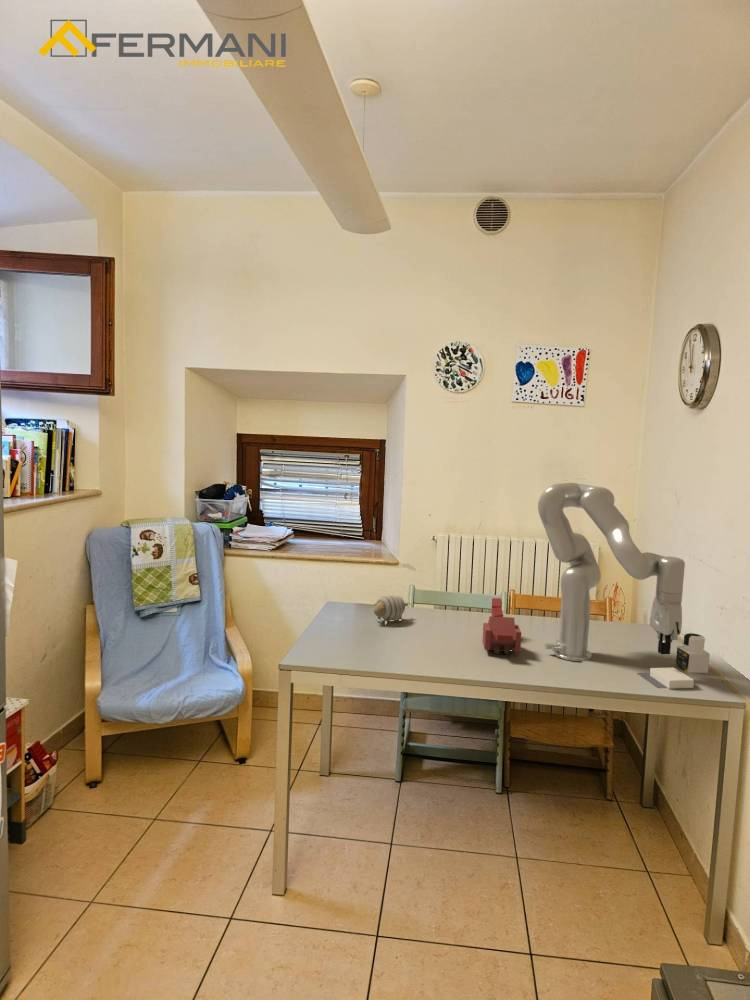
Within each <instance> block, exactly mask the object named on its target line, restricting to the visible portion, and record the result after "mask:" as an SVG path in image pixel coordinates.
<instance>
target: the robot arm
mask: <svg viewBox="0 0 750 1000" xmlns="http://www.w3.org/2000/svg"><path fill="white" fill-rule="evenodd" d="M569 507H571V508H572V507H573V508H579V509H583V511H585V514H587V516H588V517H589V518H590V519H591V520H592V521H593V523H594V524H595V525H596V526H597V528H598V529H599V530H600V532H601V533H602V534H603V535H604V537H605V539H606V541H607V544H608V546H609V548H610V551H611V552H612V554H613V557H615V559H616V561H617V562H618V563H619V564H620V565H621V567H622V568H623V569H624V570H625V572H626V573H627V574H628V575H629V576H631V577H632V578H634V579H636V580H639V581H640V580H641V581H642V580H645V579H648V578H650V577H654V576H656V582H655V583H656V584H655V596H654V599H653V602H652V606H651V611H650V618H649V626H650V627H651V628H652V629H653V630H654V631H655V632H656V634H657V639H658V645H657V652H658V653H659V654H660V655H669V654H671V647H672V642H673V641H678V639H679V636H680V635H681V632H682V627H683V626H682V623H683V622H682V621H683V610H682V609H683V607H682V602H683V592H684V591H683V590H684V579H685V578H684V577H685V568H686V567H685V566H686V562H685V560H683V558H680V557H676V556H664V555H660V554H656V553H655V552H654V553H653V552H650V551H649V552H648V551H647V552H641V550H640V549H639V548H638V546H637V545H636V543H634V541H633V539H632V537H631V533H630V525H629V521H628V520H627V519H626V518H625V516H624V515H623V513H621V512H620V510H619V509H618V508H617V507H616V505H615V495H614V494H613V492H612V491H611V489H609V488H606V487H602V486H595V485H590V484H589V485H588V484H582V483H576V482H575V483H574V482H564V483H563V482H562V483H555V484H552V485H550V486H548V487H547V488H546V489H545V490H543V492H542V493H541V495H540V497H539V500H538V503H537V511H538V515H539V518H540V521H541V523H542V525H543V527H544V529H545V533H546V536H547V539H548V541H549V544H550V547H551V550H552V553H553V555H554V557H555V558H556V559H557V560H558V561H559V562H560V563H565V564H567V563H568V564H569V566H568V567H567V568H566V569H565V570H564V571H563V572H562V574H561V577H560V592H561V593H560V594H561V597H560V598H561V603H560V621H559V631H558V632H559V633H558V639H556V640H555V642H553V643H545V644H544V649H545V650H551V651H552V652H553V655H554V656H556V657H558V658H560V659H561V660H562V659H563V660H567V661H572V662H582V661H589V660H590V659H592V657H593V654H592V652H590V651H589V650H588V647H589V634H590V633H589V632H590V631H589V629H590V619H591V616H590V615H591V597H590V596H591V595H590V590H591V589H593V588H595V587H596V586H598V584H599V583H600V581H601V570H600V567H599V564H598V562H597V559H596V556H595V553H594V552H593V549H592V546H591V544H590V542H589V541H588V538H586V536H584V535H582V534H581V533H578V532H574V531H573V529H572V527H571V524H570V523H571V522H570V520H569V518H568V517H567V515H566V514H565V512H564V509H566V508H569Z"/></svg>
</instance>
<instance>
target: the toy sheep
mask: <svg viewBox="0 0 750 1000" xmlns="http://www.w3.org/2000/svg"><path fill="white" fill-rule="evenodd" d="M408 605H409V603H408V602H405V600H404V598H403V597H401V596H400V595H398V594H392V593H391V594H389V593H388V594H385V595H383V596H381V597H380V598H378V599H377V601H376V602H375V603H374V606H375V607H374V609H373V614H374V615H375V616H377V617H376V618H378V619H380V620H381V619H382V618H383V619H384V620H383V619H382V620H383V621H388V620H394V621H393V622H395V621H396V619H397V620H398V619H402V617H403V613H405V609H406V607H408ZM388 622H389V621H388Z"/></svg>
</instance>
